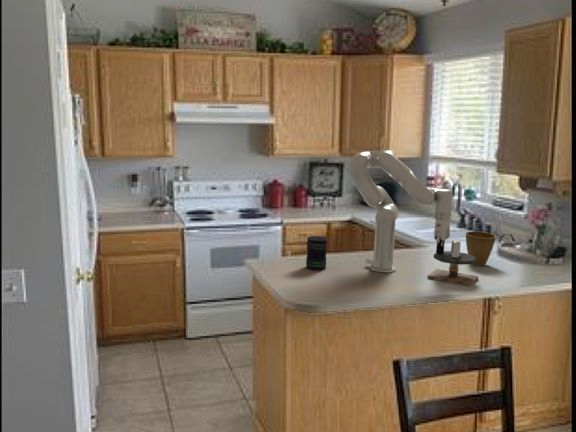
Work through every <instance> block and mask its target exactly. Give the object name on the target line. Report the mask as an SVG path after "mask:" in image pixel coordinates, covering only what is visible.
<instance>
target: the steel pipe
mask: <svg viewBox="0 0 576 432" xmlns="http://www.w3.org/2000/svg"><path fill="white" fill-rule="evenodd" d="M461 243H462V241H459V240H452V241H451V246H450V251H451V256H450V257H454V258H459V255H460V253H461ZM459 270H460V269H459V265H458V264H450V263H449V268H448V271H449V276H451V277H457V276H458V273H459Z"/></svg>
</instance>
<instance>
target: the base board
mask: <svg viewBox="0 0 576 432" xmlns="http://www.w3.org/2000/svg"><path fill="white" fill-rule="evenodd" d="M426 278H427V279H429V280H435V281H439V282H444V283H451V284H456V285H461V286H465V287H472V286H473V285H474V284H475V283H476V282H477V281H478V280H479V276H478V275H472V274H466V273H462V272H461V273H460V272H458V276H457V277H451V276H449V270H445V269H439V268H436V269H435V270H433V271H432V272H430V273H429V274H427V277H426Z"/></svg>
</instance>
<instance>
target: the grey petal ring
mask: <svg viewBox="0 0 576 432" xmlns="http://www.w3.org/2000/svg"><path fill="white" fill-rule="evenodd" d="M450 256H451V250H447V251H446V250H444V253H443V254H437V253H436V252H435V253H434V254H433V259H435V260H436V261H439V262H441V263H445V264H449V265H450V264H458V265H460V266H463V265H472V264H473V263H474V262H476V257H474V256H472V255H470V254H468V252H466V253H465V252H460V255H459V258H454V257H450Z"/></svg>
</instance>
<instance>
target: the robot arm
mask: <svg viewBox="0 0 576 432" xmlns="http://www.w3.org/2000/svg"><path fill="white" fill-rule="evenodd" d="M368 169H382V170H383V171H384V172H385V173H386V174H388V175H389V176H390V177H391V178H392V179H393V180H394V181H395V182H397V183H398V184H399V185H400V186H401V188H402V189H404V190H405V192H407V193H408V194H409V195H410V196H411V197H412V198H413V199H414V200H416V201H417V202H418V203H419V204H421V205H422V206H430V205H432V204H433V203H435V204H434V217H433V218H434V219H435V222H434V232H433V239H434V240H435V243H436V248H435V249H436V250H435V253H437V254H443V253H444V251H445V242H446V240H448V239H449V238H450V232H451V231H450V230H451V228H450V227H451V222H450V221H451V219H452V210H453V209H452V208H453V194H454V193H453V191H452V190H451V189H448V188H447V189H446V188H434V187H427V186H425V185H424V184H423V183H422V182H421V181H420V180H419V179H418V178H417V177H416V175H415V174H414V172H413V170H412V169H411V168H410V167H409V166H407V165H406V164H405V163H404V162H403V161H401V160H400V158H398V157H397V155H396V153H395V152H394V151H392V150H390V149H389V150H368V151H367V150H365V151H361V152H357V153H355V155H353V157H352V158H351V159H350V162H349V164H348V175H349V177H350V180H351V181H352V183H353V184H354V186H355V188H356V189H357V191H358V192H359V193H360V194H359V195H361V196H362V199H363V200H364V202H366V205H368V206H369V207H372V208H374V209H375V211H376V214H375V216H374V217H375V219H374V220H375V221H374V225H375V226H374V227H375V228H374V230H375V231H374V245H373V246H374V247H373V258H366V259H365V262H366V263H365V264H370V265H369V270H371V271H374V272H377V273H394V272H395V271H396V269H397V268H396V267H395V266H394V265H393V264H394V251H395V250H394V249H395V238H396V237H395V236H396V221H397V219H398V217H399V210H398V209H399V208H398V207H397V205H396V204H395V203H394V202H395V201H393V199H392V198H391V197H390V195H389V194H388V192H387V190H386V189H384V187H382V186H380V185H377V184H376V183H375V182H374V180H373V179H372V177H371V176H370V174H368V171H367V170H368Z"/></svg>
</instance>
